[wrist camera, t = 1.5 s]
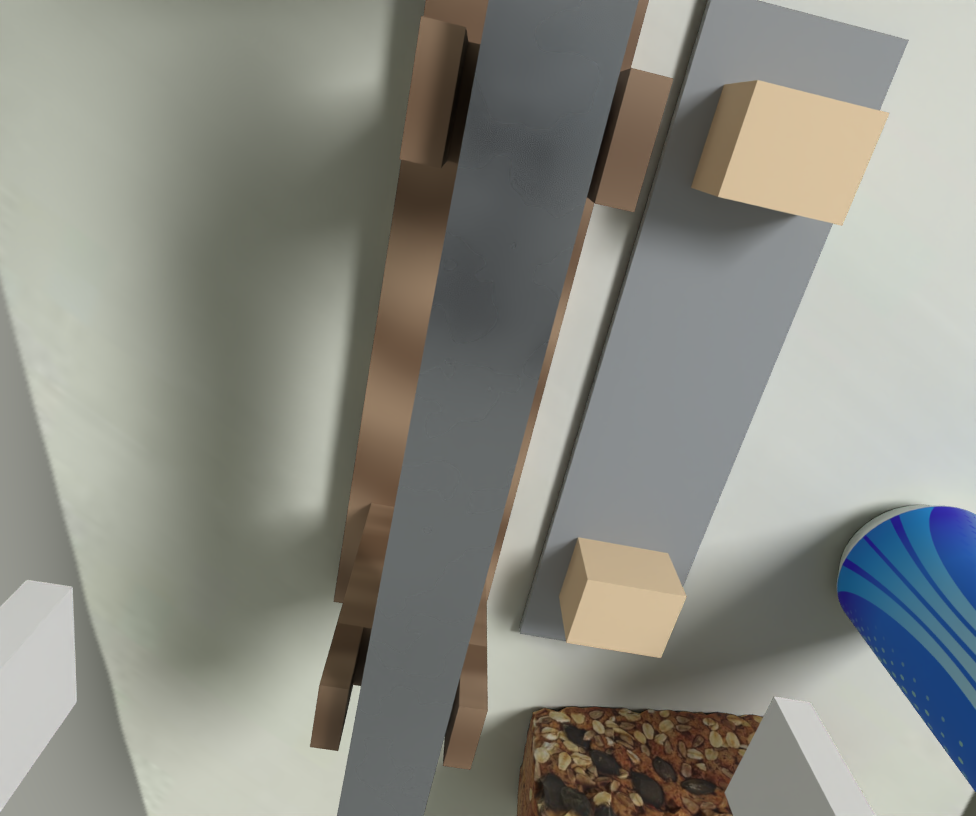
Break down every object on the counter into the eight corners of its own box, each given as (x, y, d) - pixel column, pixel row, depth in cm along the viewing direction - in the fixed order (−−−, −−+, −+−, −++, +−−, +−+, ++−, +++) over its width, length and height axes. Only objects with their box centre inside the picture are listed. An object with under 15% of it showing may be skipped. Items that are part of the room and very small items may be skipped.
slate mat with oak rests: (710, -9, 25) (748, -30, 22) (901, 41, 26) (969, 28, 23) (519, 627, 38) (523, 681, 34) (652, 649, 39) (670, 704, 35)
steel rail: (513, -116, 16) (522, -186, 12) (632, -84, 16) (676, -143, 13) (351, 747, 28) (331, 843, 24) (422, 757, 28) (413, 853, 24)
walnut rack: (437, -48, 25) (396, -199, 13) (640, 4, 26) (777, -93, 14) (339, 583, 37) (270, 808, 25) (480, 606, 37) (479, 835, 25)
